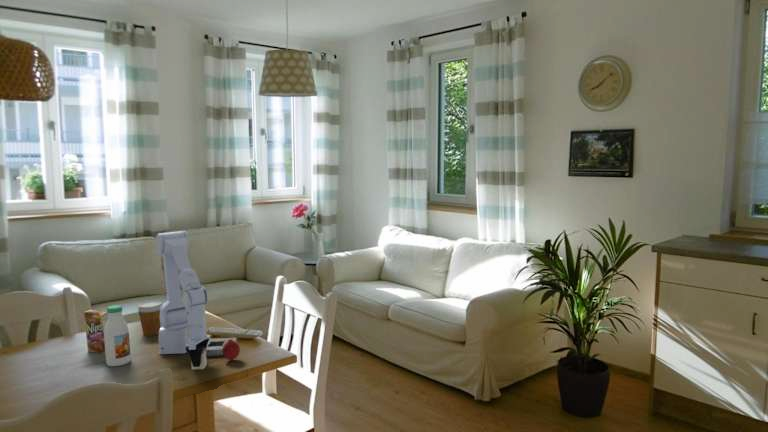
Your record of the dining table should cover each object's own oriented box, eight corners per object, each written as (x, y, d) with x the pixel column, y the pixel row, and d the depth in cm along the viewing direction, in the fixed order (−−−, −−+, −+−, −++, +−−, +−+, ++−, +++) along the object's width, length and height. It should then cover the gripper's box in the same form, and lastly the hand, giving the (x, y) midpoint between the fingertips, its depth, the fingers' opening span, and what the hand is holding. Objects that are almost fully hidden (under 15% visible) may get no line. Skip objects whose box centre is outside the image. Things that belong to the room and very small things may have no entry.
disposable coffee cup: (143, 329, 228) (141, 301, 226) (167, 328, 229) (165, 300, 227) (135, 337, 219) (133, 308, 217) (160, 336, 220) (158, 306, 218)
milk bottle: (106, 368, 188) (102, 311, 185) (106, 361, 195) (101, 305, 192) (131, 364, 191) (127, 307, 189) (130, 357, 198) (126, 302, 196)
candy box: (86, 352, 204) (83, 311, 202) (96, 348, 208) (93, 308, 206) (105, 355, 200) (101, 313, 199) (114, 350, 204) (111, 310, 203)
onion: (243, 358, 195) (242, 336, 194) (233, 364, 190) (232, 341, 189) (229, 356, 197) (228, 334, 196) (219, 362, 192) (218, 340, 191)
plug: (191, 369, 186) (190, 352, 185) (194, 364, 190) (193, 348, 189) (203, 369, 186) (202, 351, 186) (206, 364, 190) (205, 347, 190)
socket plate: (195, 357, 197) (195, 350, 197) (203, 345, 209) (203, 339, 208) (230, 355, 198) (229, 349, 197) (236, 344, 210) (236, 337, 209)
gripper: (203, 330, 179) (206, 370, 181) (213, 316, 194) (215, 354, 195) (181, 331, 179) (183, 371, 181) (193, 317, 193) (195, 355, 195)
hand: (199, 362), depth 188 cm, fingers open, 6 cm apart
